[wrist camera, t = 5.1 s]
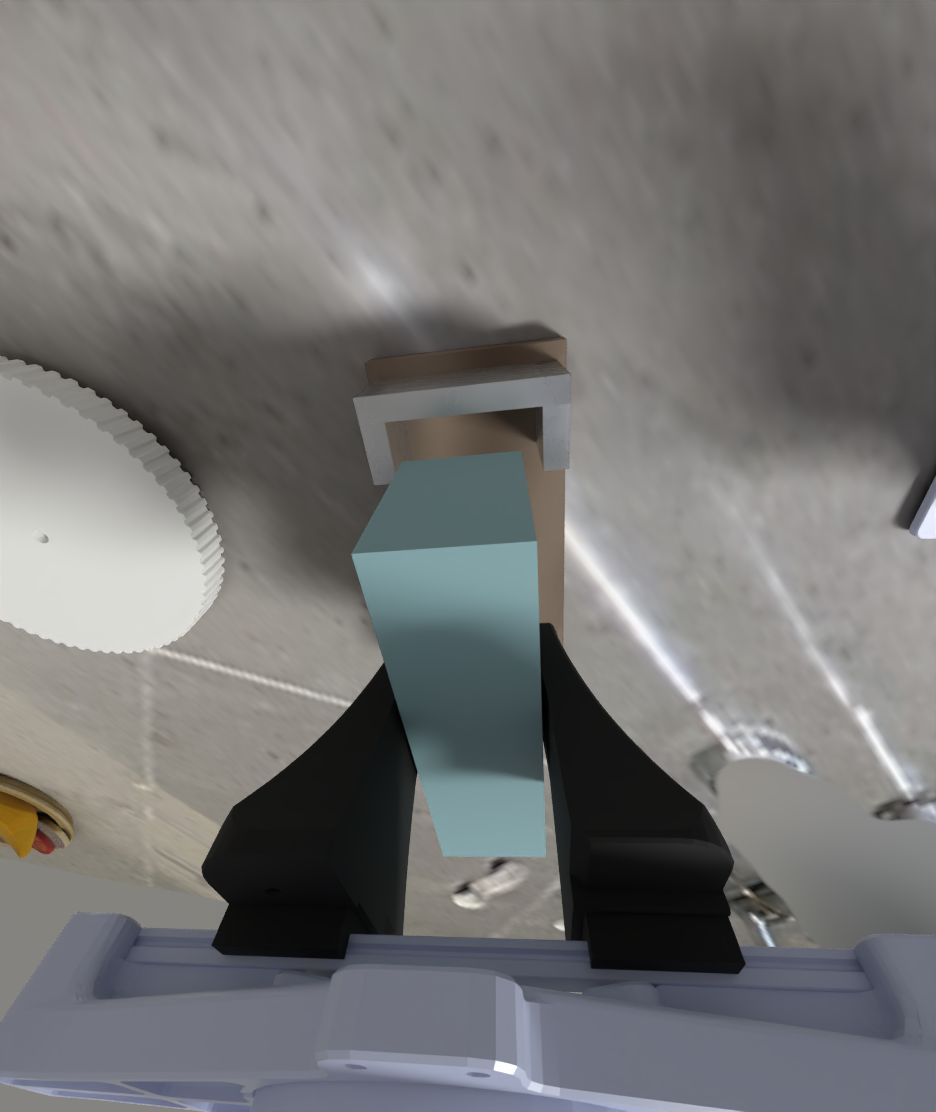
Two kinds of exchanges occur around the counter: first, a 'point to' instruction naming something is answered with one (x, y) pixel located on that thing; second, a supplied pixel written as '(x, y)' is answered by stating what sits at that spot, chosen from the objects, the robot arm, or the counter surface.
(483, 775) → the teal rectangular block
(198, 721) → the counter surface
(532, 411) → the end cap board
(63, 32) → the counter surface
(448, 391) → the end caps
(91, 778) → the counter surface
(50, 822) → the toy sandwich meal
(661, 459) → the counter surface
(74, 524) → the plastic lid
